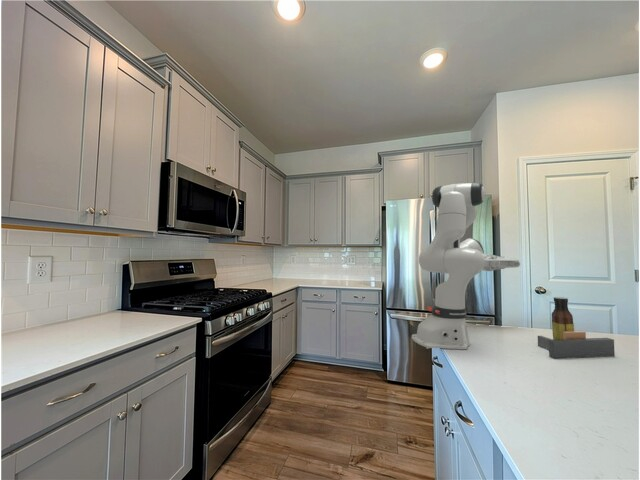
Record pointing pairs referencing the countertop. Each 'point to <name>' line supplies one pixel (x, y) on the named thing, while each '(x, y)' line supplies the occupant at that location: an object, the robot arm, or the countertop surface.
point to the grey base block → (577, 347)
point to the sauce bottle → (561, 318)
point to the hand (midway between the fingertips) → (509, 263)
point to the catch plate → (574, 335)
